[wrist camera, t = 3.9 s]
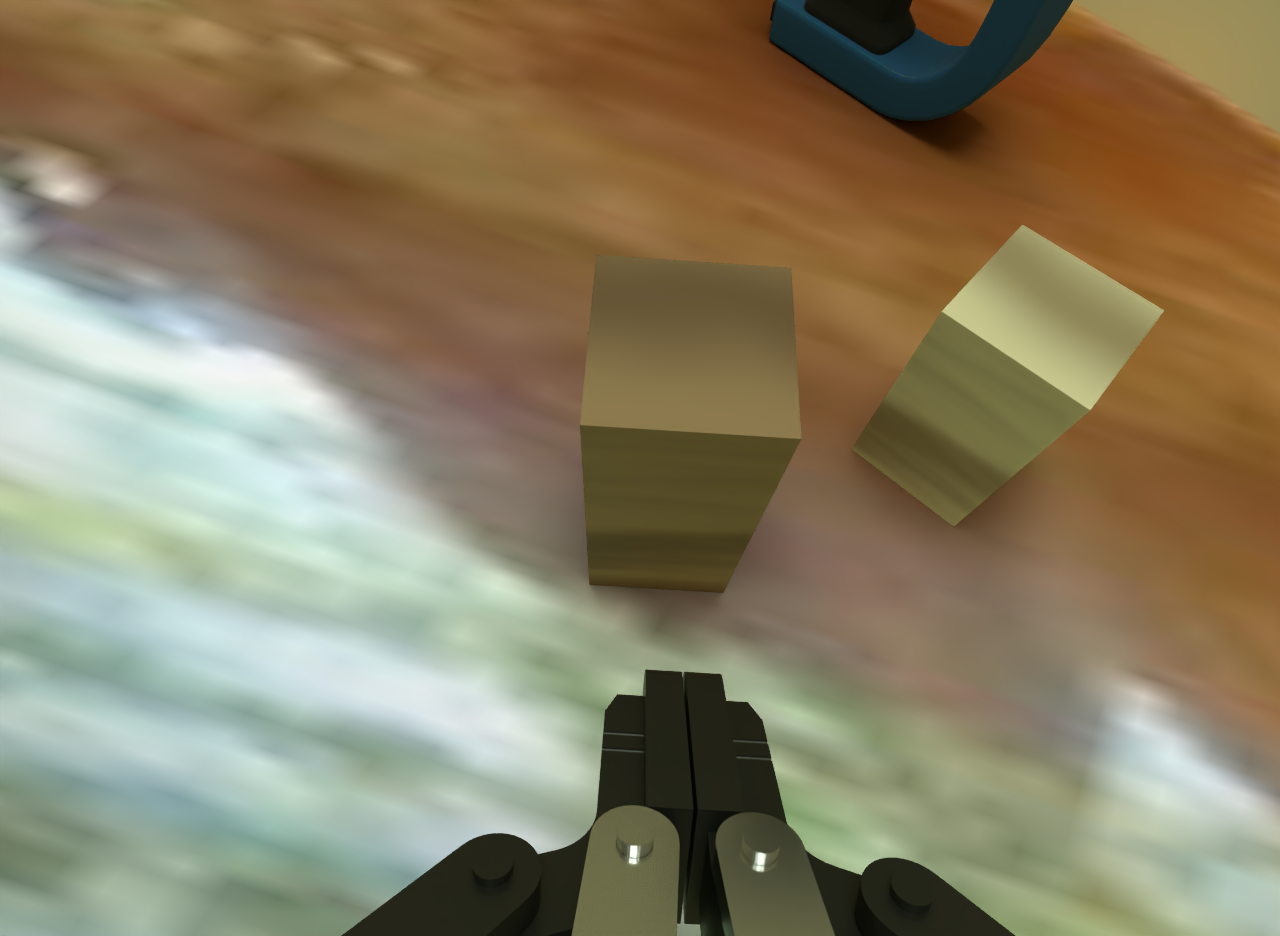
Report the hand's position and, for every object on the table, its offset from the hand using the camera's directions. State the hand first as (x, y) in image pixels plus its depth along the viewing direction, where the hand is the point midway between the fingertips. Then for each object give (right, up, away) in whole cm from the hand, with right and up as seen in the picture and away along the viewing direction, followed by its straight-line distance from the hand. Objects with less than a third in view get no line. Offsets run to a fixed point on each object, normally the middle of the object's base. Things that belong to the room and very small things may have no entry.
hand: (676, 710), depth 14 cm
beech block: (+12, +6, +16) cm, 21 cm away
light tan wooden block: (0, +2, +14) cm, 14 cm away
